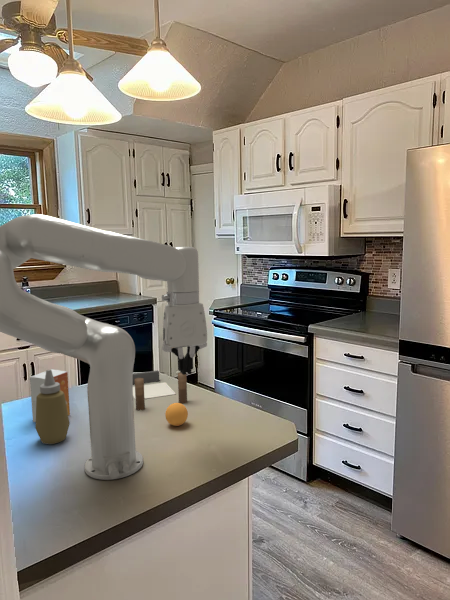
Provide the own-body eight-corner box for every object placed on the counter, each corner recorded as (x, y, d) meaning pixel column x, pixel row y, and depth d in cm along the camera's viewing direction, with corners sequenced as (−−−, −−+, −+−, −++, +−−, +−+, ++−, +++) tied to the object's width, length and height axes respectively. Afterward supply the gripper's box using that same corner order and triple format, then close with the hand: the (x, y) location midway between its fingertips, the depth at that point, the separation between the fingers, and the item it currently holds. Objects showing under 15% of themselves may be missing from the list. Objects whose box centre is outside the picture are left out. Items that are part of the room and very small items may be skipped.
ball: (191, 427, 122) (190, 405, 121) (169, 431, 120) (168, 409, 119) (184, 419, 128) (183, 398, 127) (163, 422, 125) (162, 401, 125)
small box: (49, 425, 125) (46, 379, 123) (32, 422, 127) (28, 376, 126) (70, 415, 132) (68, 371, 130) (54, 411, 135) (51, 368, 133)
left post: (145, 409, 135) (144, 379, 134) (136, 410, 134) (135, 380, 133) (143, 406, 138) (142, 377, 136) (135, 407, 137) (133, 378, 135)
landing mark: (175, 394, 148) (175, 393, 148) (135, 400, 143) (135, 399, 143) (165, 382, 160) (165, 382, 160) (127, 387, 155) (127, 387, 155)
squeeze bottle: (43, 450, 110) (37, 377, 108) (31, 439, 116) (26, 370, 114) (75, 440, 116) (71, 370, 113) (63, 430, 122) (58, 364, 119)
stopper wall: (159, 381, 162) (159, 371, 161) (130, 385, 158) (130, 375, 157) (158, 379, 163) (158, 370, 163) (130, 383, 159) (129, 373, 159)
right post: (188, 402, 140) (187, 374, 139) (180, 404, 139) (179, 375, 138) (185, 399, 143) (184, 371, 141) (177, 401, 142) (176, 372, 140)
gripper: (156, 302, 104) (159, 381, 106) (218, 298, 110) (220, 373, 112) (148, 298, 111) (151, 372, 113) (207, 294, 116) (209, 365, 119)
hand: (185, 372), depth 113 cm, fingers closed
